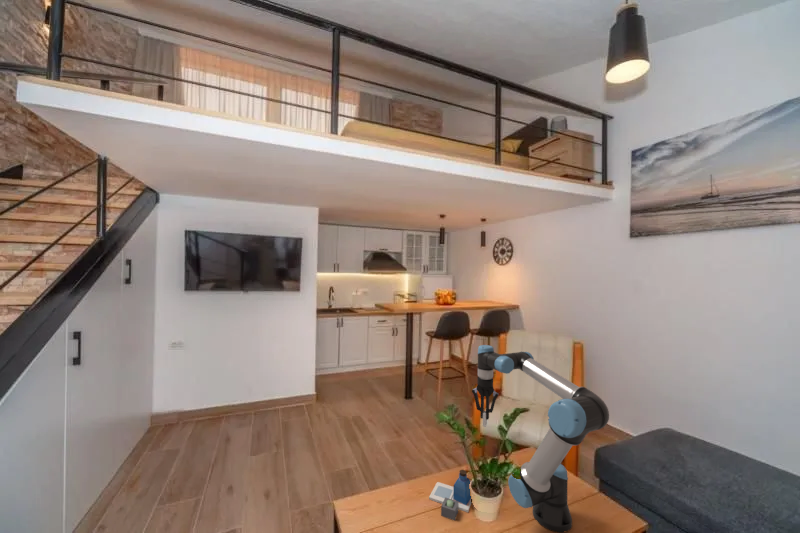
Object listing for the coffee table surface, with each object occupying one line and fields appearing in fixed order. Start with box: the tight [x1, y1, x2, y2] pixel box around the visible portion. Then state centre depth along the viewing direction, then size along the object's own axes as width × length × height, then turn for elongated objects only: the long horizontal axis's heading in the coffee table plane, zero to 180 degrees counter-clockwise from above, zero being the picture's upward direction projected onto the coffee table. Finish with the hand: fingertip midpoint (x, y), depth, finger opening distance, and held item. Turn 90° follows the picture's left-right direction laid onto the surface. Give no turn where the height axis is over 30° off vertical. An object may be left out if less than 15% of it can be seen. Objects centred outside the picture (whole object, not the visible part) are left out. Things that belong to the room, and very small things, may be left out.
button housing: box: [440, 497, 459, 521], centre depth 136 cm, size 6×6×4 cm
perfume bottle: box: [453, 469, 471, 505], centre depth 144 cm, size 6×6×12 cm
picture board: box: [428, 481, 472, 513], centre depth 146 cm, size 18×12×1 cm, turn 65°
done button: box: [447, 500, 453, 508], centre depth 136 cm, size 3×3×4 cm
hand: (484, 425), depth 155 cm, fingers closed
